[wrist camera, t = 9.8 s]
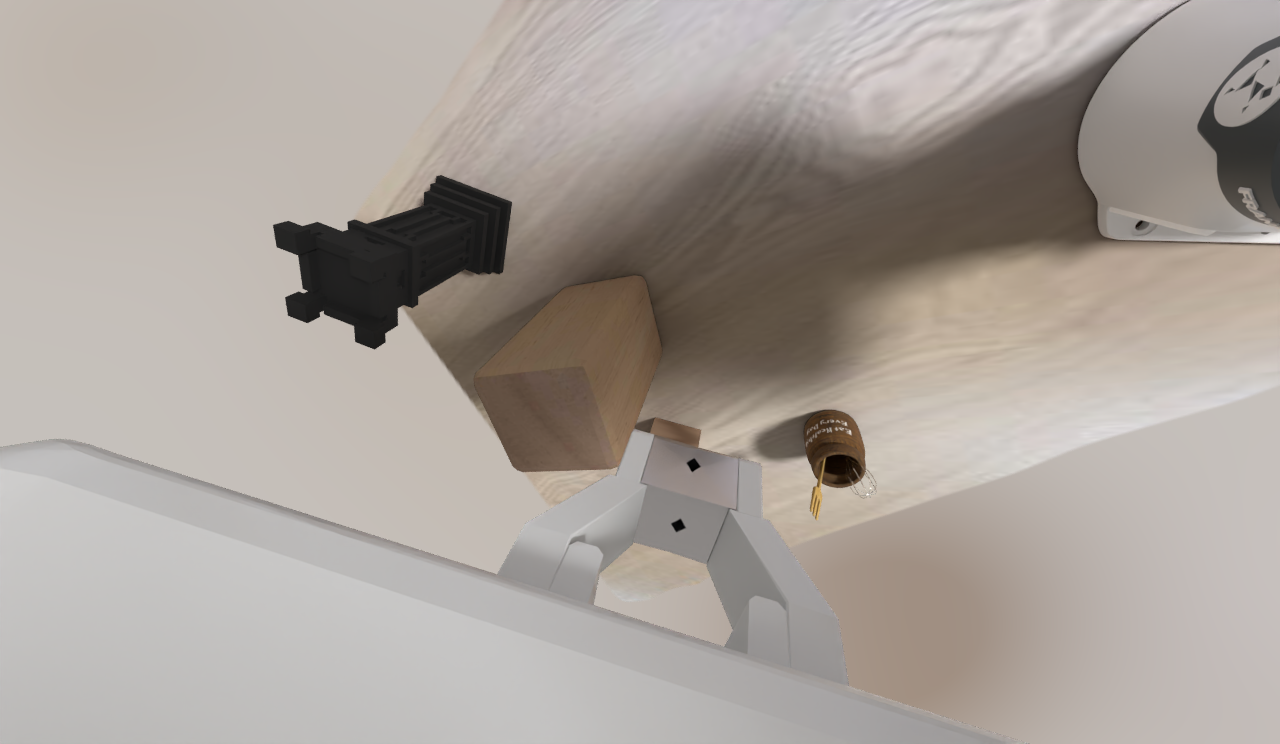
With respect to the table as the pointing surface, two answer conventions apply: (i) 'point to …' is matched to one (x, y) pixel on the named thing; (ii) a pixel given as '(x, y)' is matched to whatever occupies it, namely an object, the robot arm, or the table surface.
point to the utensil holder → (834, 453)
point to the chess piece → (394, 257)
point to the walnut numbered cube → (676, 432)
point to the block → (574, 378)
